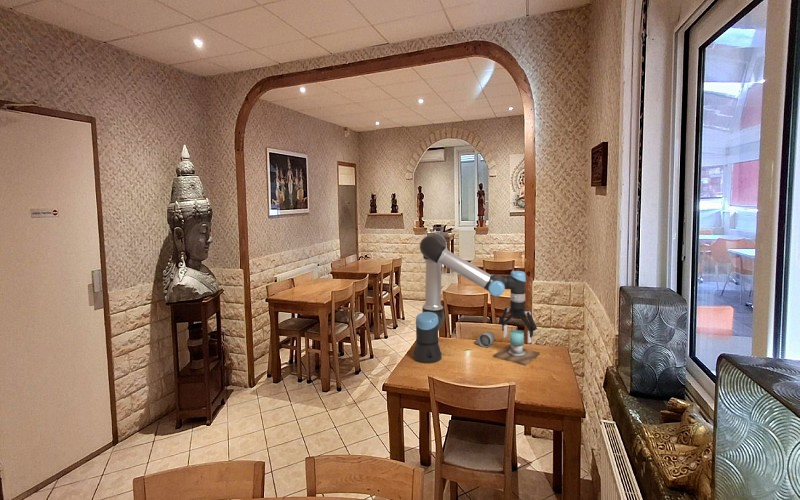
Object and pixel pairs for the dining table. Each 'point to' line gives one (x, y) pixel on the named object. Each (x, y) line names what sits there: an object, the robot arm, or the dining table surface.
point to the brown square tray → (516, 354)
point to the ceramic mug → (485, 339)
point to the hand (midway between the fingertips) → (517, 339)
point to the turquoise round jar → (516, 337)
